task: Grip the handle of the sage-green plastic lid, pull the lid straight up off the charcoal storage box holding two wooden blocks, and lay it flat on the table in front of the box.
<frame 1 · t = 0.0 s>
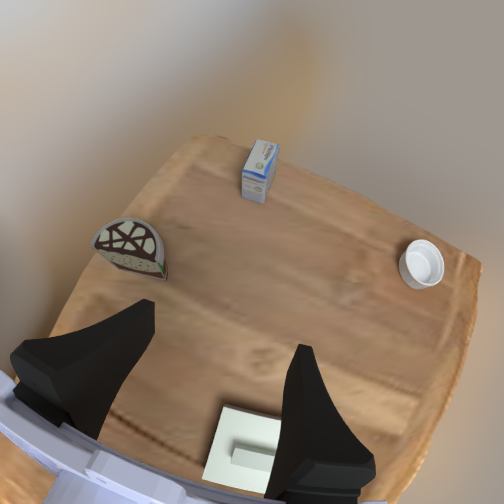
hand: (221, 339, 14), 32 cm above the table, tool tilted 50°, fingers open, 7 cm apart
food container: (147, 259, 50), on the table
ramekin: (414, 270, 50), on the table
lid: (254, 453, 34), point 4 cm above the table, touching storage box
medicine box: (259, 186, 57), on the table
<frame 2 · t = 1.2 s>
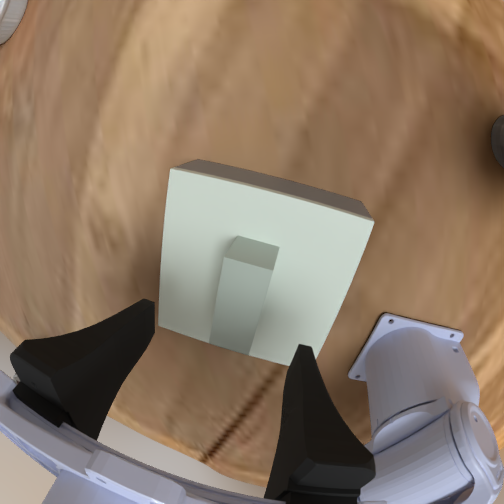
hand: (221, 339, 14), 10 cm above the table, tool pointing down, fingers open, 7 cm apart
storage box: (260, 254, 23), on the table
ramekin: (12, 16, 16), on the table
lid: (251, 276, 19), point 4 cm above the table, touching storage box
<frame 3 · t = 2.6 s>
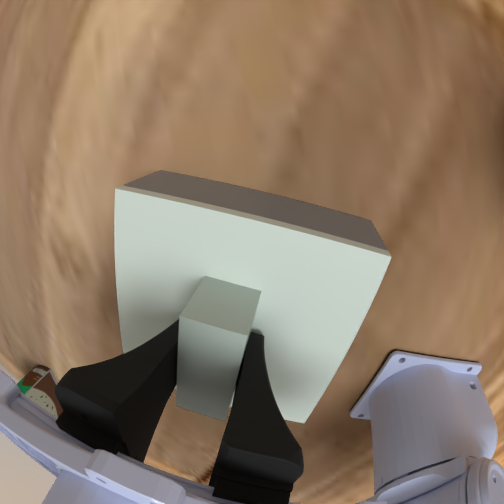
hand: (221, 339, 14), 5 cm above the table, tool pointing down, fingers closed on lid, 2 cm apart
storage box: (243, 286, 18), on the table
food container: (47, 381, 32), on the table
lid: (228, 321, 15), point 4 cm above the table, touching gripper, storage box
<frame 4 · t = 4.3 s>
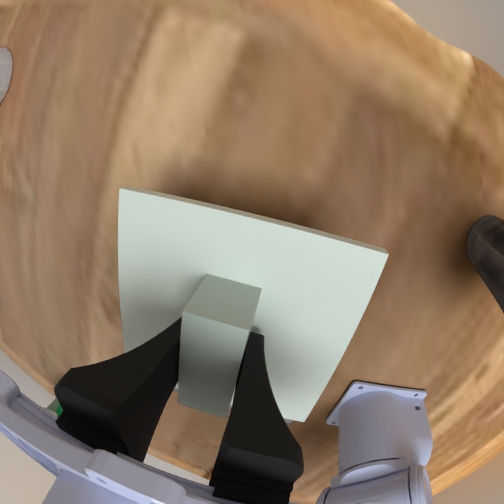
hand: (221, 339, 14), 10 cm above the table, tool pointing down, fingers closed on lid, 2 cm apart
lid: (229, 320, 15), point 8 cm above the table, touching gripper
beverage cup: (486, 240, 19), on the table
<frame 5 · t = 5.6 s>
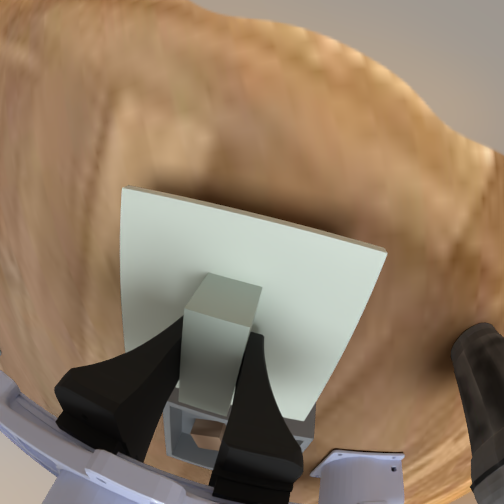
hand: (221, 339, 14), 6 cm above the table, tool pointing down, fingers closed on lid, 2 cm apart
storage box: (236, 419, 26), on the table
lid: (230, 319, 15), point 4 cm above the table, touching gripper
beverage cup: (473, 343, 18), on the table
wooden block B: (213, 427, 26), point 1 cm above the table, touching storage box
when the fingers open (3 cm above the table, at t = 6.4 s): lid drops 2 cm, on the table.
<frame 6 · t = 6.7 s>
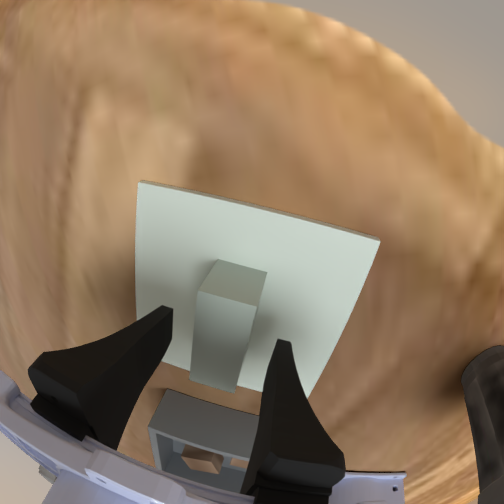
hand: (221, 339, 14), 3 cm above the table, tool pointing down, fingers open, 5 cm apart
storage box: (229, 442, 23), on the table
wooden block A: (254, 444, 22), point 1 cm above the table, touching storage box
lid: (237, 303, 17), on the table
beverage cup: (485, 366, 15), on the table
wooden block B: (205, 449, 24), point 1 cm above the table, touching storage box
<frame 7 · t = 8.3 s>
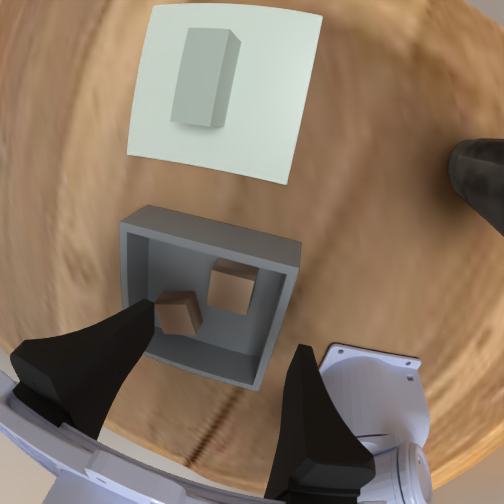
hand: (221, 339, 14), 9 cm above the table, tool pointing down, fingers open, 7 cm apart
storage box: (210, 290, 24), on the table
wooden block A: (235, 279, 22), point 1 cm above the table, touching storage box
lid: (218, 82, 18), on the table
beverage cup: (471, 169, 16), on the table
wooden block B: (183, 306, 25), point 1 cm above the table, touching storage box
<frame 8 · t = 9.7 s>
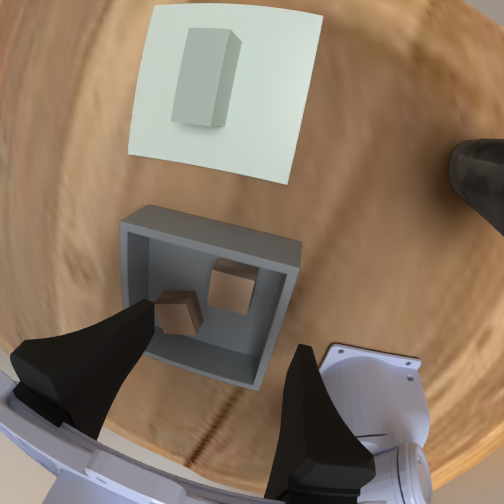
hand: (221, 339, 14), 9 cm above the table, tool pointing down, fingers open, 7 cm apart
storage box: (210, 289, 24), on the table
wooden block A: (236, 279, 23), point 1 cm above the table, touching storage box
lid: (219, 82, 18), on the table
beverage cup: (471, 169, 16), on the table
wooden block B: (183, 306, 25), point 1 cm above the table, touching storage box
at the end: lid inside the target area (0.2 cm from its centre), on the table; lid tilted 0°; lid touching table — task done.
